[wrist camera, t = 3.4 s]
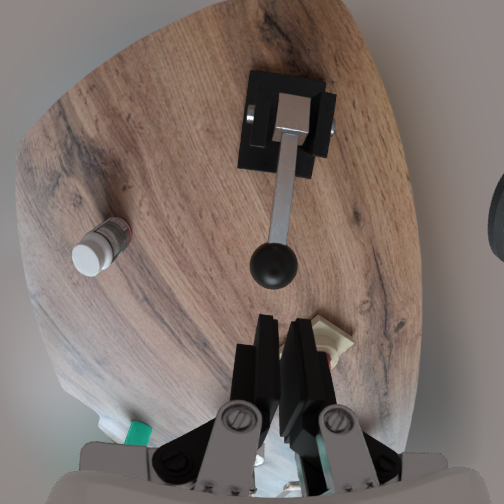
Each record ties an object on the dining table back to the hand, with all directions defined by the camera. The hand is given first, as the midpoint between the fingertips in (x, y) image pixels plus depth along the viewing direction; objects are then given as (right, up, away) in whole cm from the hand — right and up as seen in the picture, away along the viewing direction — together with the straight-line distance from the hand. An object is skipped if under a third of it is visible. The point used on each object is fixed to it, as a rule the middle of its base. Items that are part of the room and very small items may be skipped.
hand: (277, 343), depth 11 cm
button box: (+8, -11, +29) cm, 32 cm away
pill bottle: (-19, +6, +22) cm, 30 cm away
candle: (-31, -43, +47) cm, 71 cm away
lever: (+1, +8, +8) cm, 11 cm away
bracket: (+2, +18, +16) cm, 24 cm away
